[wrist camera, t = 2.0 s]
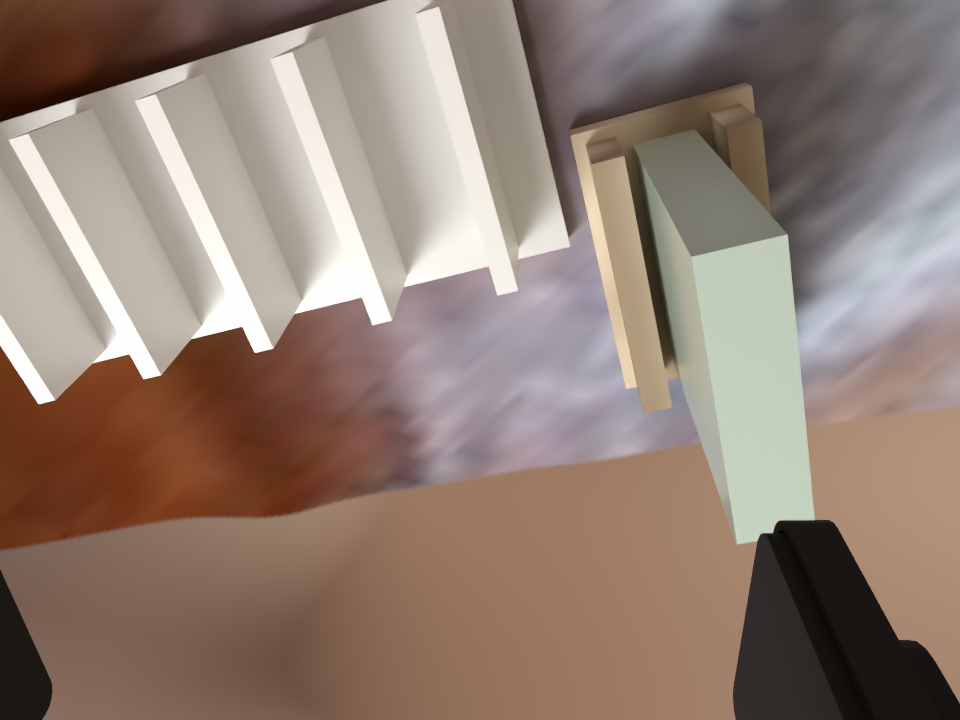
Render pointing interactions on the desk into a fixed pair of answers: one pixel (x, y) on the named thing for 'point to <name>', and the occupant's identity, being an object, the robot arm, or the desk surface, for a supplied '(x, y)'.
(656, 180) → the plate
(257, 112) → the dish rack
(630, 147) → the plate stand
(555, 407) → the desk surface
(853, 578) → the robot arm
